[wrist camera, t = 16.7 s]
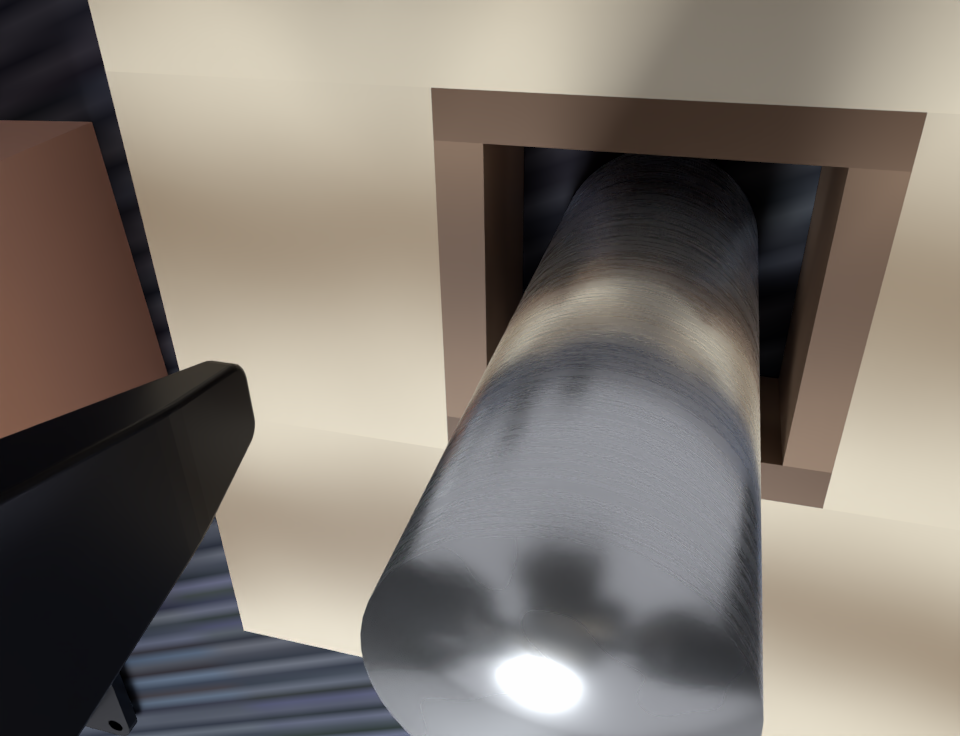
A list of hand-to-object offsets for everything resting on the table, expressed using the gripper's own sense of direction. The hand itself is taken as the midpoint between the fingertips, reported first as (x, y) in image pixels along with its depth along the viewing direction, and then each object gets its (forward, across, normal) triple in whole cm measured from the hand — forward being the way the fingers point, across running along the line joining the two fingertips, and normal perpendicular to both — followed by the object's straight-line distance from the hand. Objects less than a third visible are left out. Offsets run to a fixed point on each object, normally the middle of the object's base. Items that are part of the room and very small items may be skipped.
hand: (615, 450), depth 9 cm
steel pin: (+6, 0, 0) cm, 6 cm away
